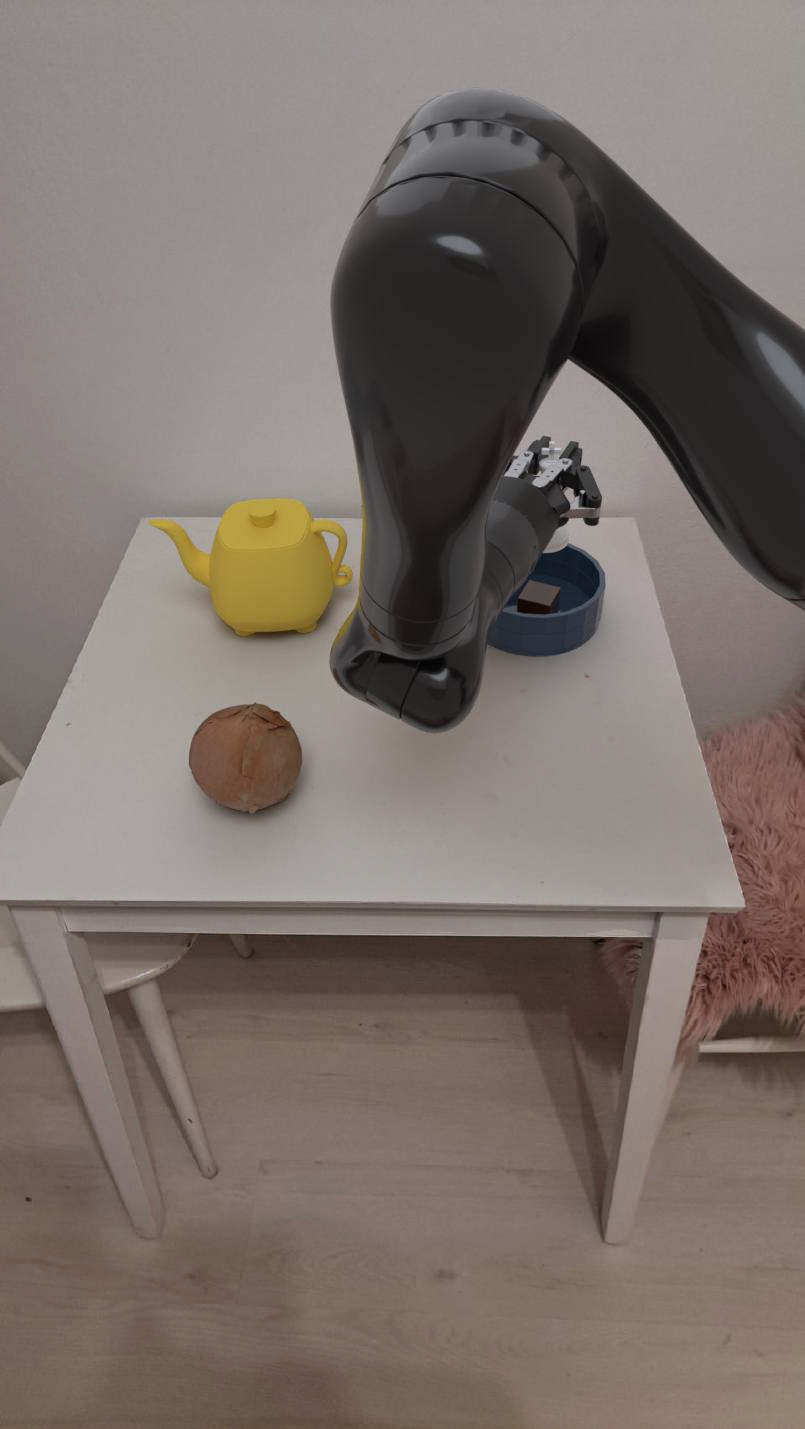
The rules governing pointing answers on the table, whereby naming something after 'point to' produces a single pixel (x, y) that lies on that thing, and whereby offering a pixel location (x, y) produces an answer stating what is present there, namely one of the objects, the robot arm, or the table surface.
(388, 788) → the table surface
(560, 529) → the chess piece
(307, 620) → the teapot
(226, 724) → the onion
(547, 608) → the block
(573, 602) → the bowl
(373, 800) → the table surface
